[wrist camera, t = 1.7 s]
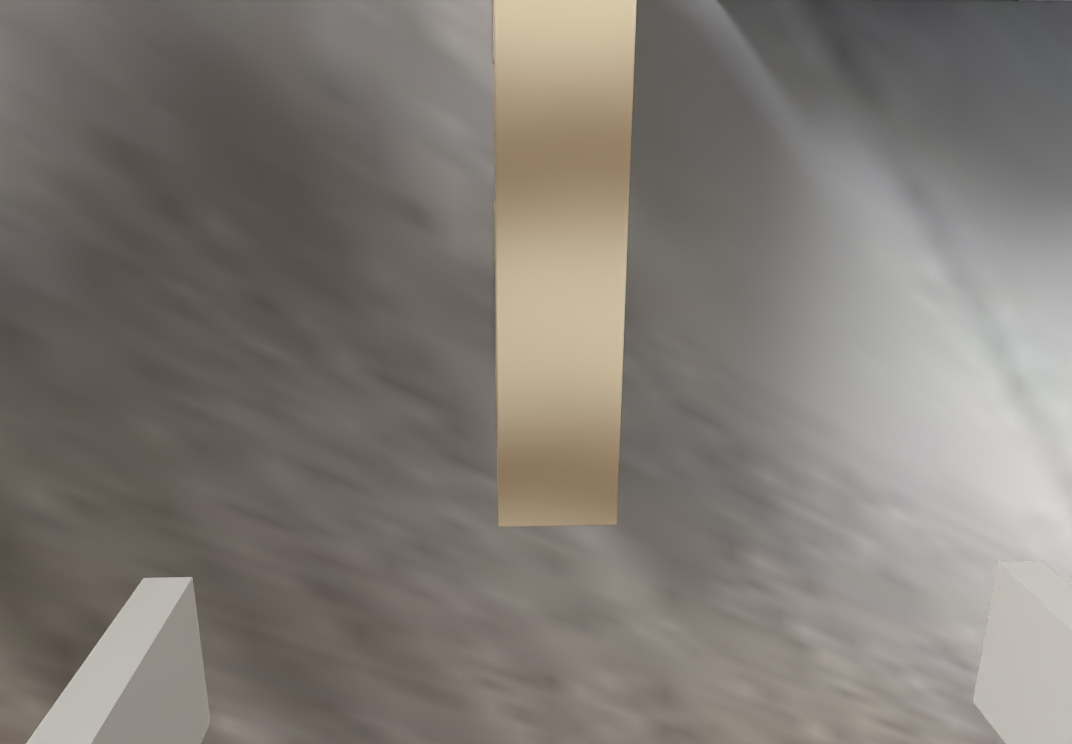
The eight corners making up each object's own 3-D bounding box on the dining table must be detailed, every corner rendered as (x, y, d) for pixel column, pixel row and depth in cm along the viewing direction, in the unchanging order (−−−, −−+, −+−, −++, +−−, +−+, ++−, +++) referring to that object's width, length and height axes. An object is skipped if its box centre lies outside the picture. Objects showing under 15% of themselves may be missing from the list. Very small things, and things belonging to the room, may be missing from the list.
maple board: (574, 377, 34) (616, 524, 23) (495, 378, 34) (498, 526, 23) (585, -157, 29) (648, -315, 17) (491, -159, 29) (493, -320, 17)
